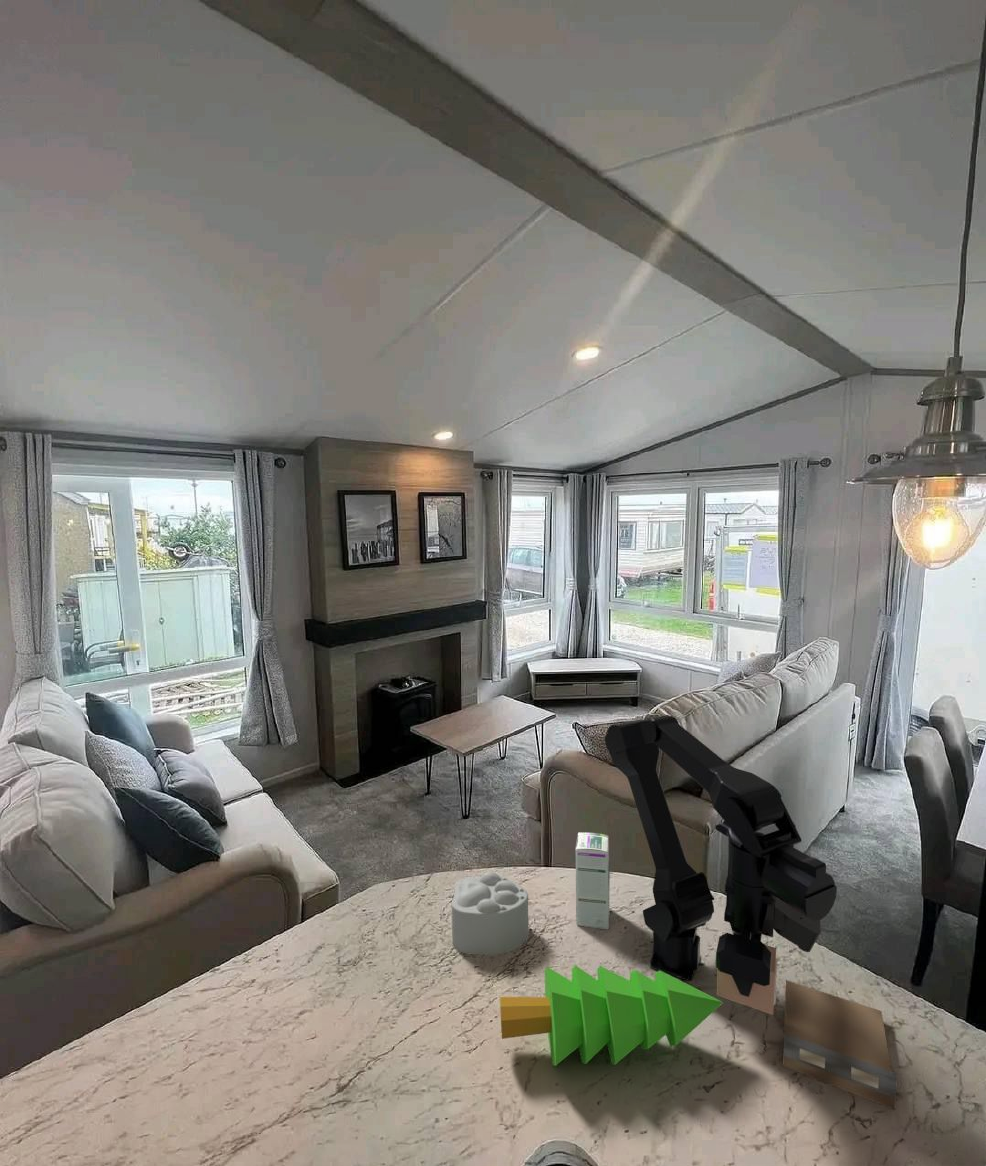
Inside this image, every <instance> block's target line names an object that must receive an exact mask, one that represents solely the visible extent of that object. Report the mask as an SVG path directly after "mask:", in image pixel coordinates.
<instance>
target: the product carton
mask: <svg viewBox="0 0 986 1166" xmlns="http://www.w3.org/2000/svg"><path fill="white" fill-rule="evenodd" d="M725 933H726V932H724V931H722V932H721V936H722V935H724V934H725ZM765 945H766V947H767V948H768V949H769V951H770V952H771V972H770V985H767V986H762V985H759V984H756V983H753V986H752V989H751V992H750V995H749V997H746V996H743V995H741V994H740V993H739V990H738V988H737V986H736V984H735V982H734V980H733V977H732V975H729V974H726V973H723V972H720V971H719V970H718V969H717V974H716V975H717V978H716V996H718V997H721V998H723V999H727V1000H730V1001H732V1002H734V1003H738V1004H741V1005H744V1006H747V1007H750V1008H752V1009H755V1010H757V1011H761V1012H764V1013H766V1014H769V1015H771V1016H773V1015H774V1007H775V1006H776V1000H777V999H776V998H777V996H776V995H777V978H778V974H777V973H778V958H777V948H776V947H773V946H771V945H767V944H765Z"/></svg>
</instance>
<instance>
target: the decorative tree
mask: <svg viewBox="0 0 986 1166" xmlns="http://www.w3.org/2000/svg"><path fill="white" fill-rule="evenodd" d="M596 971H597V978H595V977H593V976H592V975H590V973H588V972H586V971H585V970H583V969H582V968H580V967H579V966H578V965H574V966H573V967H572V968H571V980H570V979H569V978H567V977H565V976H564V975H562V974H561V973H559V972H557V971H555V970H553V969H552V968H551V967H549V966H547V967H546V968H545V970H544V996H543V997H542V996H540V997H539V996H533V997H531V996H500V997H499V1007H500V1010H499V1011H500V1023H501V1025H500V1028H501V1030H500V1031H501V1039H502V1040H503V1039H510V1038H511V1039H512V1038H518V1037H519V1038H520V1037H527V1036H535V1035H541V1034H542V1035H543V1034H547V1036H548V1042H549V1043H548V1044H549V1050H550V1056H551V1063H552V1066H555V1067H557V1065H558V1064H560V1063H561V1062H562V1061H563V1060H564V1059H566V1057H569V1056H570V1054H571V1053H573V1052H574V1051H575V1050H576V1049H578V1050H579V1054H580V1059H581V1064H585V1065H586V1064H587V1063H589V1061H591V1060H592V1058H594V1057H595V1055H597V1054H598V1053H599V1052H600V1051H601V1050H602V1049H603V1048H604V1047H605V1046H607V1050H608V1054H609V1059H610V1063H611V1065H617V1064H618V1063H619V1062H620V1061H621V1060H623V1058H625V1057H626V1056H627V1055H628V1054H630V1053H631V1052H632V1051H633V1050H634V1049H636V1048H637V1047H638V1046H639V1045H640V1049H641V1050H649V1049H650V1048H652V1046H654V1045H655V1044H656V1043H657V1042H659V1041H661V1039H662V1038H663V1037H665V1036H666V1039H667V1041H668V1044H669V1047H675V1046H677V1045H678V1044H680V1043H681V1042H682V1041H683V1040H684V1039H685V1038H686V1037H687V1036H688V1035H689V1034H690V1033H692V1032H693V1031H694V1030H695V1029H696V1028H697V1027H698V1026H699V1025H700V1024H701V1023H703V1022H704V1021H705V1020H706V1019H707V1018H708V1017H710V1015H711V1014H713V1013H714V1012H715V1011H716V1010H717V1009H718V1008H719V1007H720V1006H721V1005H722V1004H724V1001H721V1000H720V999H717V998H716V997H714V996H712V995H709V994H707V993H706V992H704V991H702V990H699V989H698V988H696V987H694V986H692V985H690V984H688V983H685V982H684V981H681V980H680V979H678V978H676V977H673V975H671V974H669V973H666V972H663V971H660V970H658V971H656V972H655V973H654V978H655V979H652V978H651V977H649V976H647V975H645V974H644V973H642V972H640V971H638V970H637V969H636V970H635V969H634V970H632V971H630V973H629V979H627V978H626V977H623V976H622V975H620V974H617V973H615V972H614V971H611V970H610V969H608V968H607V967H604V966H601V965H599V966H598V968H597V969H596Z"/></svg>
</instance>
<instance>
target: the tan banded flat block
mask: <svg viewBox="0 0 986 1166" xmlns="http://www.w3.org/2000/svg"><path fill="white" fill-rule="evenodd" d="M784 994H785V997H784V1023H783V1027H784V1028H783V1029H784V1031H783V1033H784V1034H783V1055H782V1057H783V1058H782V1066H783V1067H785V1068H788V1069H790V1070H792V1071H795V1072H797V1073H799V1074H802V1075H805V1076H807V1077H811V1078H813V1079H815V1080H818V1081H820V1082H823V1083H826V1084H829V1085H831V1086H833V1087H836V1088H837V1089H841V1090H843V1091H846V1092H848V1093H851V1094H854V1095H856V1096H859V1097H861V1098H864V1099H867V1100H870V1101H872V1102H874V1103H877V1104H880V1105H883V1106H884V1107H887V1108H890V1109H892V1110H896V1100H897V1083H898V1077H897V1073H895V1072H893V1071H892V1068H891V1061H890V1055H889V1050H888V1043H887V1037H886V1036H887V1035H886V1029H885V1025H884V1018H883V1014H882V1013H883V1011H882V1010H879V1009H877V1008H873V1007H870V1006H867V1005H864V1004H862V1003H858V1002H855V1001H853V1000H849V999H846V998H842V997H840V996H836V995H833V994H830V993H827V992H824V991H821V990H818V989H814V988H812V987H808V986H805V985H803V984H799V983H796V982H794V981H790V980H788V979H786V980H785V993H784Z"/></svg>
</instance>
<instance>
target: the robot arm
mask: <svg viewBox="0 0 986 1166" xmlns="http://www.w3.org/2000/svg"><path fill="white" fill-rule="evenodd" d="M604 742H605V746H606V749H607V751H608V754H609V755H610V758H611V760H612V763H613V765H614V766H615V767H617V769H618V770H619V771H620V772H621V773H622V774H623V775H624V776H625V777H626V778H627V780H628V783H629V786H630V789H631V793H632V796H633V799H634V803H635V805H636V808H637V813H638V816H639V818H640V822H641V824H642V828H643V831H644V834H645V839H646V840H647V844H648V847H649V851H650V854H651V857H652V860H653V863H654V868H655V874H654V879H653V885H652V894H653V898H654V903H655V904H654V905H651V906H649V907H647V908H645V909H643V910H642V914H643V915H642V916H643V920H644V921H643V922H644V924H645V926H646V927H648V929H650V930H651V931H652V956H651V958H650V961H649V967H650V968H653V969H655V970H658V971H659V970H660V971H662V972H664V973H666V974H668V975H671V976H675V977H678V978H681V979H683V980H686V981H693V978H694V975H695V974H694V973H695V971H697V970H698V969H699V964H700V959H701V958H700V957H701V937H700V936H699V935H697V933H698V932H697V929H698V928H700V927H705V926H706V925H707V924H706V923H708V922H710V921H711V919H712V917H713V914H714V913H715V907H714V902H713V901H714V900H715V897H714V896H713V894H712V892H711V890H710V888H709V884H708V878H707V877H706V876H707V875H705V874H704V872H703V871H700V872H697V871H696V870H695V869H694V868H693V867H692V865H690V864H689V863H688V861H687V858H686V856H685V853H684V851H683V847H682V844H681V841H680V838H679V835H678V832H677V828H676V826H675V823H674V820H673V817H672V814H671V811H670V807H669V805H668V802H667V798H666V796H665V792H664V790H663V787H662V784H661V781H660V778H659V774H658V772H657V768H658V763H659V757H660V750H661V751H662V752H663V753H664V754H665V755H666V756H667V757H669V758H670V759H671V760H672V761H673V762H674V763H675V764H676V765H677V766H679V768H681V769H682V770H683V771H685V773H686V774H687V775H689V776H690V777H691V778H692V780H694V781H695V782H697V784H698V785H699V786H701V787H702V788H703V789H704V790H705V791H706V792H707V793H708V795H709V797H710V801H711V805H712V807H713V809H714V811H715V812H717V814H718V815H719V816H720V817H721V819H722V820H723V821H722V822H720V823H718V824H716V825H715V826H714V829H715V830H716V831H718V833H720V834H722V835H724V836H726V837H727V839H728V840H727V866H726V872H727V873H726V880H725V884H724V893H725V894H726V895H725V896H726V897H725V898H726V899H725V901H726V903H725V908H724V913H723V914H724V916H723V921H724V922H727V923H729V925H730V928H731V931H732V933H729V932H725V934H724V935H722V934H721V935H720V936H718V937H719V938H718V941H717V947H716V952H715V968H716V969H717V970H719V971H720V972H723V973H726V974H729V975H732V977H733V980H734V982H735V984H736V986H737V988H738V990H739V993H740V994H741V995H743V996H746V997H749V995H750V992H751V989H752V986H753V983H756V984H759V985H762V986H767V985H770V972H771V952H770V951H769V949H768V948H767V947H766V945H767V944H765V943H763V942H762V935H764V936H766V937H770V938H774V931H775V932H776V933H777V935H778V936H781V937H783V938H784V939H785V940H788V941H789V942H791V943H792V944H794V945H796V946H797V947H798V949H799V950H801V951H803V952H805V953H810V952H811V950H812V949H813V947H814V945H815V944H816V942H817V940H818V938H819V937H820V935H821V933H822V932H821V931H822V930H821V920H823V919H824V918H825V917H826V916H827V915H828V914H829V913H830V912H831V910H832V909H833V906H834V904H835V902H836V898H837V893H838V887H837V885H836V884H835V880H834V877H833V876H832V875H831V874H829V873H828V872H827V864H826V863H825V862H823V861H822V860H820V859H818V858H816V857H812V856H810V855H808V854H806V853H804V852H802V851H801V850H799V849H797V848H795V847H794V846H795V845H798V844H800V843H802V838H801V836H800V834H799V832H798V829H797V827H796V824H795V823H794V822H793V820H792V818H791V815H790V813H789V812H788V809H787V808H786V805H785V803H784V801H783V799H782V794H781V793H780V791H779V790H778V789H777V788H776V787H775V786H774V785H773V784H771V783H770V782H768V781H766V780H765V779H763V778H761V777H760V776H758V775H756V774H755V773H752V772H750V771H747V770H742V769H740V768H736V767H734V766H732V765H731V764H729V763H727V762H726V761H725V760H724V759H723V758H721V756H719V755H718V754H716V753H715V752H714V751H712V749H710V748H709V747H708V746H706V745H705V744H704V743H703V742H702V741H700V740H699V739H698V738H697V737H695V736H694V735H693V734H692V733H690V731H688V730H687V729H685V728H684V727H683V726H682V725H681V724H679V721H678V720H677V719H676V717H674V716H673V715H669V714H663V715H658V716H652V717H648V718H646V719H645V720H644V719H641V718H640V719H636V720H631V721H630V720H629V721H626V722H620V723H615V724H611V725H610V726H608V729H607V731H606V734H605V736H604ZM771 826H772V827H773V826H775V827H776V828H777V829H778V830H775V831H772V832H769V833H766V834H765V833H763V832H761V830H763V829H766V828H769V827H771ZM759 830H760V831H759Z"/></svg>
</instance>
